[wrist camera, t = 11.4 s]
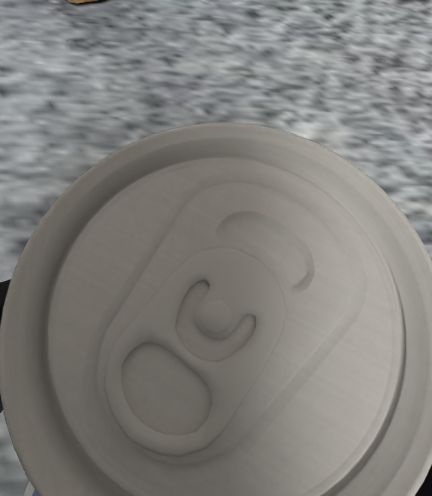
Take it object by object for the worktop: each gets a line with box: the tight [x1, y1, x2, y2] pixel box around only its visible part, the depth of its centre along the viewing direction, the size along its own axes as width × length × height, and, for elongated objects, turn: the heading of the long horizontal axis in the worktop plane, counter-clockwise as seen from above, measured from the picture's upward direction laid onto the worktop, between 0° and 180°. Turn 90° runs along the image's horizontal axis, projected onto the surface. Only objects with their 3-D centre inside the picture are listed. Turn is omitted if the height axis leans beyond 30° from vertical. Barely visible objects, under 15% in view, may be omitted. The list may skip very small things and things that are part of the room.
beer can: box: [0, 123, 432, 496], centre depth 10 cm, size 6×6×15 cm
